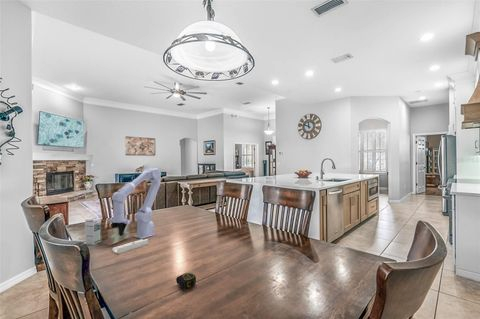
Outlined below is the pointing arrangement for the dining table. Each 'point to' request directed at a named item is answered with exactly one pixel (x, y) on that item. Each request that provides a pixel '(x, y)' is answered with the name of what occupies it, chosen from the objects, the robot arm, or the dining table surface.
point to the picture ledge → (130, 246)
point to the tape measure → (186, 280)
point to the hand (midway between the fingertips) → (119, 235)
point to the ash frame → (117, 235)
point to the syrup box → (93, 230)
